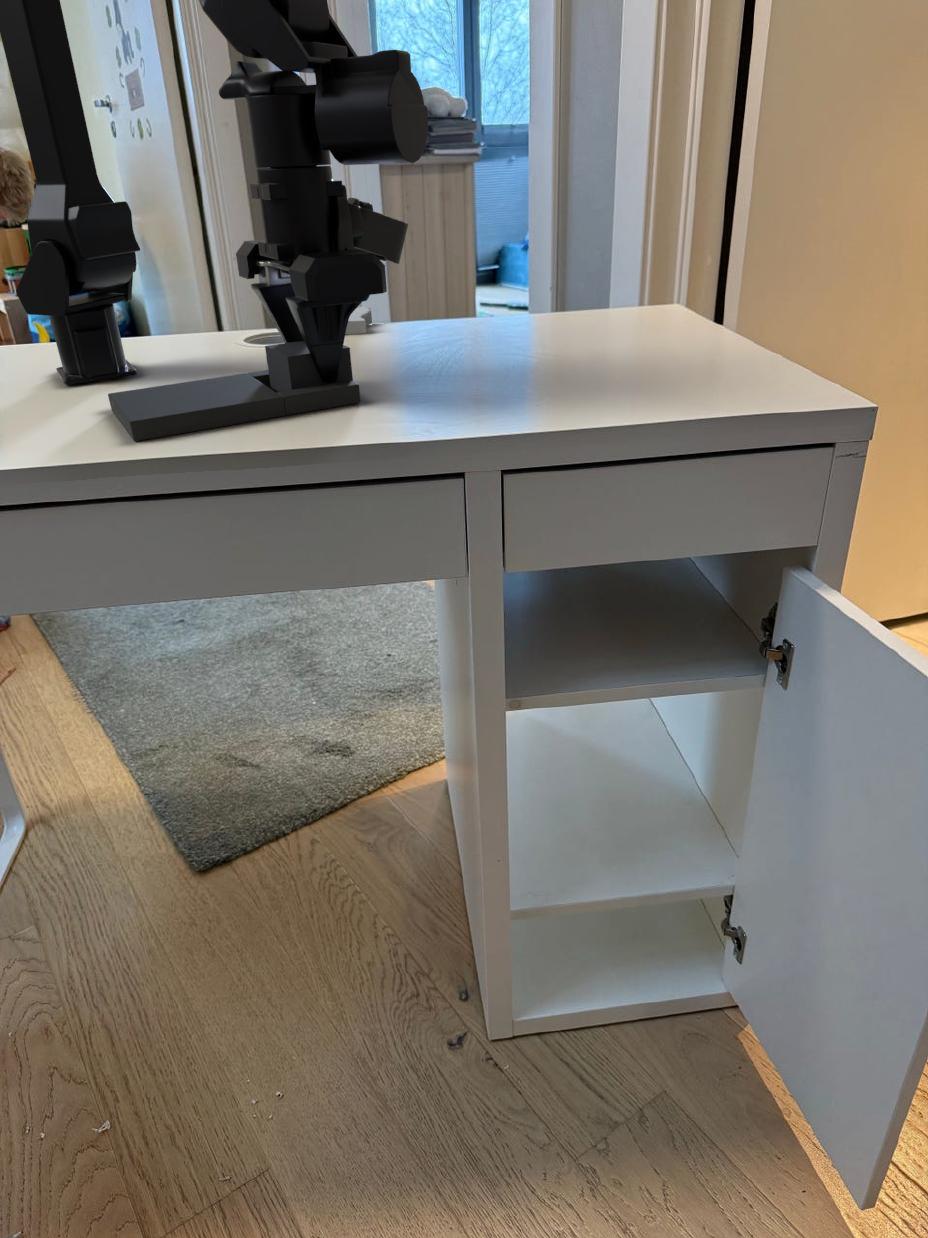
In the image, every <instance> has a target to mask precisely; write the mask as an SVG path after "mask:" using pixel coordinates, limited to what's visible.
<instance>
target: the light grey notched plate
mask: <svg viewBox="0 0 928 1238" xmlns="http://www.w3.org/2000/svg"><path fill="white" fill-rule="evenodd" d="M372 323H373V318H372V308H371V307H369V306H358V307H357V308H356V309H355V310H354V311H353V312H352V314H351V315H350V317H349V320H348V324H347V329H346V333H345V335H361V334H362V335H363V334H364V335H365V334H367V327H368V326H369V325H371V324H372Z"/></svg>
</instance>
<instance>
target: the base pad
mask: <svg viewBox="0 0 928 1238" xmlns="http://www.w3.org/2000/svg"><path fill="white" fill-rule="evenodd" d="M360 391H361V390H360V384H359V383H357V382H355V381H354V380H353V381H344V382H338V383H332V384H325V385H319V386H313V387H307V388H300V389H294V390H288V391H282V392H278V391H276V390H274V389H273V388H271V385H270V378H269V371H268V369H264V370H258V371H251V372H245V373H237V374H232V375H223V376H218V377H211V378H204V379H197V380H191V381H184V382H176V383H171V384H164V385H163V384H162V385H156V386H150V387H143V388H136V389H130V390H124V391H123V390H122V391H117V392H110V393H108V394H107V397H108V400H109V405H110V409H111V412H112V414H114V416H115V417H116V419H117V420H118V421H119V423H120V424H121V426H122V427H123V428H124V429H125V431H126V432H127V434H128V435H129V436H130V438H131V439H132V440H133V442H140V441H141V442H142V441H145V440H146V441H147V440H153V439H157V438H158V439H159V438H163V437H169V436H176V435H181V434H182V435H183V434H187V433H193V432H198V431H204V430H210V429H216V428H222V427H227V426H234V425H240V424H244V423H245V424H246V423H250V422H251V423H252V422H256V421H257V422H258V421H262V420H268V419H273V418H279V417H285V416H291V415H292V416H293V415H297V414H303V413H309V412H315V411H320V410H326V409H331V408H338V407H343V406H350V405H355V404H361V402H362V401H361V400H362V399H361V392H360Z"/></svg>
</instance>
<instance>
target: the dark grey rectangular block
mask: <svg viewBox="0 0 928 1238" xmlns="http://www.w3.org/2000/svg"><path fill="white" fill-rule="evenodd" d="M264 348H265V349H264V350H265V357H266V363H267V364H266V365H267V370H268V371H269V378H270V385H271V388H273V389H274V390H276V391H275V392H282V391H288V390H294V389H300V388H307V387H313V386H319V385H325V384H332V383H338V382H344V381H353V382H354V377H353V376H354V375H353V367H352V357H351V347H349V346H346V345H344V344H343V349H342V355H341V361H340V366H339V372H338V378H337V381H336V382H332V383H324V382H323V381H322V379H321V376H320V374H319V372H318V370H317V368H316V366H315V364H314V362H313V359H312V357H311V355H310V352H309V350H308V348H307V346H306V343H305V341H304V340H303V341H296V342H289V343H285V342H283V343H276V344H269V345H264Z"/></svg>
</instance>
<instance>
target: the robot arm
mask: <svg viewBox="0 0 928 1238" xmlns="http://www.w3.org/2000/svg"><path fill="white" fill-rule="evenodd" d="M198 3H199V5H200V7H201V10H202V11H203V12H204V14H205V15H206V17H208V19H209V20H210V21H211V22H212V24H213V25H214V26H215V27H216V29H217V30H218V31H219V33H221V35H222V36H223V37H224V39H225V40H226V41H227V42H228V44H230V45H231V47H232V48H233V49H234V50H235V51H236V52H238V53H239V54H241V55H243V56H244V57H247V58H251V59H260V60H267V61H269V62H270V63H271V64H272V65H274V66H275V67H276V68H278V69H279V70H273V71H271V70H270V71H262V69H261V68H260V67H259V66H258V63H256V62H252V61H244V60H243V61H242V60H238V61H236V62H235V64H234V68H233V70H232V72H231V73H230V74H229V76H228V77H227V78H226V79H225V80H224V82H223V83H222V85H221V86H220V87H219V89H218V95H219V97H220V98H221V99H222V100H234V101H245V103H246V110H247V117H248V118H247V119H248V125H249V132H250V140H251V148H252V155H253V162H254V168H255V177H256V183H249V188H250V195H251V199H254V200H255V199H257V200H259V206H260V215H261V220H262V228H263V237H264V239H253V240H244V241H243V243H242V244H241V246H240V247H239V248H238V250H237V251H236V252H235V258H236V265H237V272H238V276H239V277H240V278H243V279H247V280H253V279H255V277H256V275H258V277H259V282H255V283H251V284H250V287H251V289H252V291H253V292H254V293H255V294H256V296H257V298H258V299H259V301H260V302H261V304H262V306H263V308H264V309H265V311H266V313H267V315H268V316H269V318H270V320H271V321H272V323H273V325H274V326H275V328H276V330H277V332H278V333H279V335H280V337H281V338H282V341H283V343H289V342H296V341H303V340H304V341H305V343H306V346H307V348H308V350H309V352H310V355H311V357H312V359H313V362H314V364H315V366H316V368H317V370H318V372H319V374H320V376H321V379H322V381H323V382H324V383H332V382H336V381H337V378H338V372H339V366H340V361H341V355H342V349H343V345H344V343H345V338H346V334H345V333H346V329H347V324H348V320H349V317H350V315H351V314H352V312H353V311H354V310H355V309H356V308H358V307H360V305H361V304H362V303H363V302H367V301H368V300H369V299H370V296H372V295H380V294H385V293H387V292H388V286H387V275H386V273H387V272H386V265H385V263H384V262H386V261H389V262H392V263H394V264H396V265H400V262H401V258H402V253H403V248H404V246H405V245H404V244H405V242H406V241H405V240H406V236H407V231H408V228H409V223H407V222H405V221H404V220H400V219H397V218H394V217H391V216H389V215H386V214H383V213H380V212H377V211H374V206H373V204H372V203H371V202H366V201H361V200H360V199H359V198H358V197H348V193H347V187H346V185H345V184H343V180H337V179H335V180H334V178H333V177H334V176H333V169H332V168H333V167H332V157H331V155H332V156H333V158H334V160H335V161H337V162H338V163H339V164H341V165H343V166H359V165H361V166H363V165H388V164H389V165H390V164H393V165H394V164H415V163H416V162H418V161H419V160H420V159H421V158H422V156H423V154H424V152H425V150H426V146H427V142H428V137H429V136H428V135H429V134H428V133H429V109H428V106H427V105H425V100H424V95H423V92H422V88H421V86H420V84H419V81H418V78H417V77H416V75H415V74H414V73H413V72H412V63H411V54H410V52H408V51H407V50H400V49H385V50H379V51H377V52H375V53H372V54H369V55H358V54H357V53H356V51H355V50H354V48H353V47H352V45H351V43H350V42H349V40H348V39H347V38H346V36H345V35H344V32H342V30H341V28H340V27H339V25H338V24H337V23H336V20H335V19H334V18H333V16H332V15H331V13H330V9H329V3H328V0H198ZM0 38H1V42H2V46H3V50H4V55H5V59H6V63H7V67H8V71H9V75H10V79H11V83H12V87H13V92H14V95H15V99H16V104H17V107H18V112H19V116H20V120H21V123H22V128H23V133H24V137H25V140H26V144H27V149H28V152H29V157H30V160H31V165H32V169H33V172H34V177H35V183H36V185H35V188H34V192H33V196H32V200H31V203H30V208H29V211H28V214H27V218H26V223H27V230H28V231H27V232H28V238H29V245H30V253H31V255H30V257H29V259H28V261H27V263H26V266H25V269H24V271H23V273H22V275H21V277H20V280H19V282H18V285H17V287H16V289H15V293H16V296H17V298H18V299H19V302H20V303H21V305H22V307H23V309H24V311H25V313H26V314H27V315H31V316H48V317H49V321H50V324H51V328H52V332H53V336H54V339H55V343H56V344H55V345H56V348H57V352H58V355H59V359H60V364H61V366H58V367H56V373H57V374H58V377H59V378H60V380H61V381H62V383H63V385H75V384H81V383H82V384H83V383H89V382H90V383H91V382H98V381H104V380H110V379H118V378H119V379H120V378H125V377H132V376H137V375H138V373H137V369H136V368H135V367H134V366H133V365H132V364H131V363H130V362H129V361H128V360H127V359H126V356H125V351H124V346H123V341H122V337H121V334H120V329H119V324H118V319H117V315H116V311H115V306H114V304H118V303H123V302H124V303H128V302H131V301H132V296H133V279H134V273H136V271H137V264H138V263H137V253H136V252H140V251H141V248H140V246H139V243H138V241H137V238H136V236H135V235H136V234H135V231H134V226H133V215H132V210H131V208H130V205H129V204H128V202H127V201H114V200H113V197H112V196H111V195H110V194H109V193H108V191H107V189H106V188H105V187H104V186H103V185H102V183H101V181H100V179H99V176H98V171H97V168H96V167H97V166H96V162H95V159H94V153H93V148H92V144H91V140H90V135H89V130H88V126H87V120H86V116H85V111H84V107H83V102H82V97H81V92H80V87H79V83H78V79H77V74H76V70H75V65H74V60H73V55H72V51H71V47H70V41H69V37H68V31H67V28H66V23H65V17H64V13H63V9H62V3H61V0H0ZM298 73H303V74H314V76H315V84H307V83H306V82H305V80H304V79H303V78H302V77H301V76H300V75H299V74H298Z"/></svg>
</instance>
